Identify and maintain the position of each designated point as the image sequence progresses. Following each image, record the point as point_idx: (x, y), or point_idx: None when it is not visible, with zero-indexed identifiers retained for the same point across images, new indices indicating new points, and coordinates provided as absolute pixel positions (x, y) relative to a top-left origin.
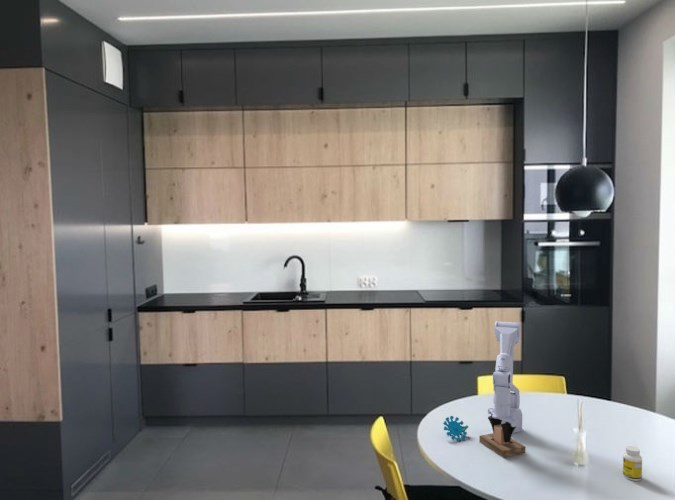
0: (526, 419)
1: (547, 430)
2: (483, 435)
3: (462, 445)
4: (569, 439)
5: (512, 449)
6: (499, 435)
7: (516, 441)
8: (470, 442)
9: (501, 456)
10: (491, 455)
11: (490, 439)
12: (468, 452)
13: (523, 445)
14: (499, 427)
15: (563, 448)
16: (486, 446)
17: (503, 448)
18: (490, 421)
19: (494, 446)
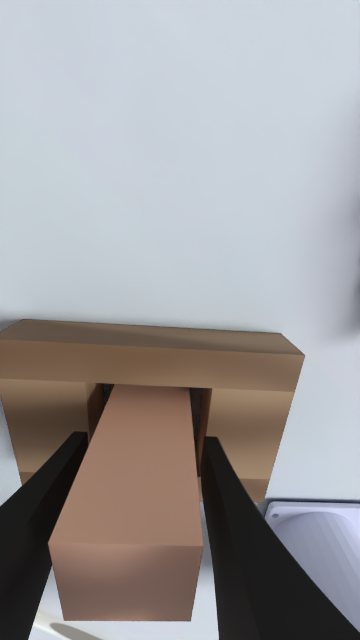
0: None
1: (204, 619)
2: (289, 384)
3: (316, 173)
4: (109, 626)
5: (7, 412)
6: (107, 454)
7: None
8: (314, 273)
9: (39, 320)
10: (77, 271)
11: (204, 384)
12: (189, 124)
13: None
14: (117, 560)
15: (47, 583)
16: (202, 329)
17: (28, 368)
18: (295, 590)
19: (105, 340)
